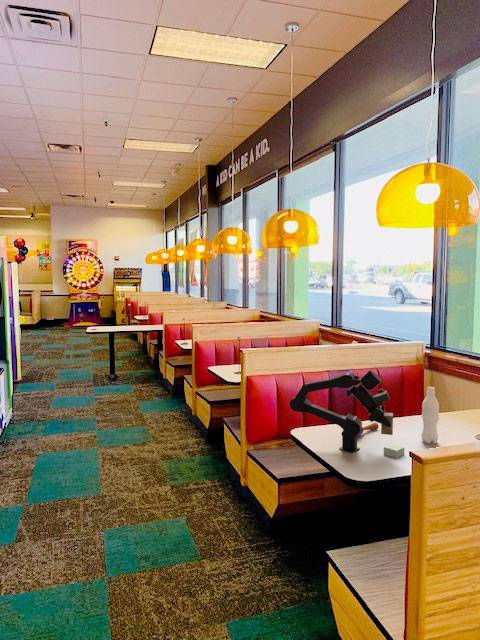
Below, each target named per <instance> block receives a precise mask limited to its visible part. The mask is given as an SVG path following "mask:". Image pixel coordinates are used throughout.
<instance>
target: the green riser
mask: <svg viewBox="0 0 480 640" xmlns="http://www.w3.org/2000/svg"><path fill="white" fill-rule="evenodd" d="M383 455H386V456H389V457H392V458H395V459H398V458H399V457H402V456H404V455H405V446H401V445H398V444H394V443H390V444H387V445H386V446H384V447H383Z"/></svg>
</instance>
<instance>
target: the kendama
mask: <svg viewBox="0 0 480 640" xmlns="http://www.w3.org/2000/svg"><path fill="white" fill-rule="evenodd" d="M378 429H379V424H378V422H372V423H370V424H369V425H366V426H364V427H363V426H362V428H361V430H360V432H359V433H358V434H356V435H357V438H359V437H361V435H362V434H363V432H364V431H371V430H378Z"/></svg>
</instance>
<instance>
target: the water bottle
mask: <svg viewBox="0 0 480 640" xmlns="http://www.w3.org/2000/svg"><path fill="white" fill-rule="evenodd" d="M435 389H436V388H435V386H427V390H426V397H425V398H424V399H423V401H422V404H421V408H422V409H421V419H422V422H423V423H422V424H423V428H422V431H421V433H420V435H421V436H420V437H421V441H422V442H423V443H424V442H425V444H428V445H429V444H436V443H437V442H438V441H439V433H438V429H437V428H438V427H437V426H438V425H437V424H438V422H439V420H440V412H439V411H440V404H439V401H438V399H437V397H436V391H435Z"/></svg>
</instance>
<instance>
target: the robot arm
mask: <svg viewBox="0 0 480 640" xmlns="http://www.w3.org/2000/svg"><path fill="white" fill-rule="evenodd" d="M382 382H383V380H382V379H381V377H380V376H379V374H377V373H375V372H374V371H372V370H371V369H369V370H368V371H367V372H366V374H364V375H363V376H360V375H355V374H354V373H352V372H351V371H350V372H349V371H347V372H345V373H341V374H339V375H336V376H335V377H331V378H326V379H322V380H316V381H310V382H304V384H303V385H302V386H301V388H300V390H299V391H298V393H297V394H296V395H295V396H294V397H293V398H292V399H290V401H289V404H288V405H289V407H290V409H291V411H293V412H296V413H305V414H309V415H312V416H315V417H316V418H317V417H318V418H319V419H322V420H325V421H327V422H330V423H331V424H332V423H333V425H334V424H335V425H337V426H339V427H340V428H341V429H343V430H342V432H341V436H342V437H341V438H342V439H341V441H342V442H341V444H342V445H341V446H340V447H339V450H342V451H344V452H348V453H350V454H351V453H354V452H357V451H359V450H361V448H360V447H358V437H357V435H356V434H358V433H359V432H360V430H361V428H362V427H363V422H362V420H361V419H360V417H359V418H358V415H356V416H355V415H352V414H351V413H349V412H348V413H347V414H346V415H342V414H338V413H336V412H334V411H331V410H329V409H326V408H324V407H322V406H319V405H316V404H315V403H312V402H311V401H310V400H309V399H307V398H308V395H309V393H310V392H317V391H323V390H329V389H333V388H334V389H335V388H336V389H346V396H347V397H349V396H351V395H352V396H353V397H354V398H355V399H356V400H357V401H358V402H359V403H360V406H361V407H363V408H365V410H366V411H367V412H366V413H368V414H367V415H368V416H367V419H368V420H369V421H370V422H371V423H374V422H375V423H377V424H378V423H379V424H383V425H385V426H387V427H391V424H390V423H389V421H388V420H387V418H386V417H385V416H384V413H387V412H386V410H385V406H386V405H385V404H384V403H385V402H388V401H390V395H389V393H388V391H387V390H384V389H383V388H380V389H378V393H376V394H373V393H370V392H369V390H370V391H373V390H374V389H375V388H377V387H378V386H379V385H380V384H381V383H382Z"/></svg>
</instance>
